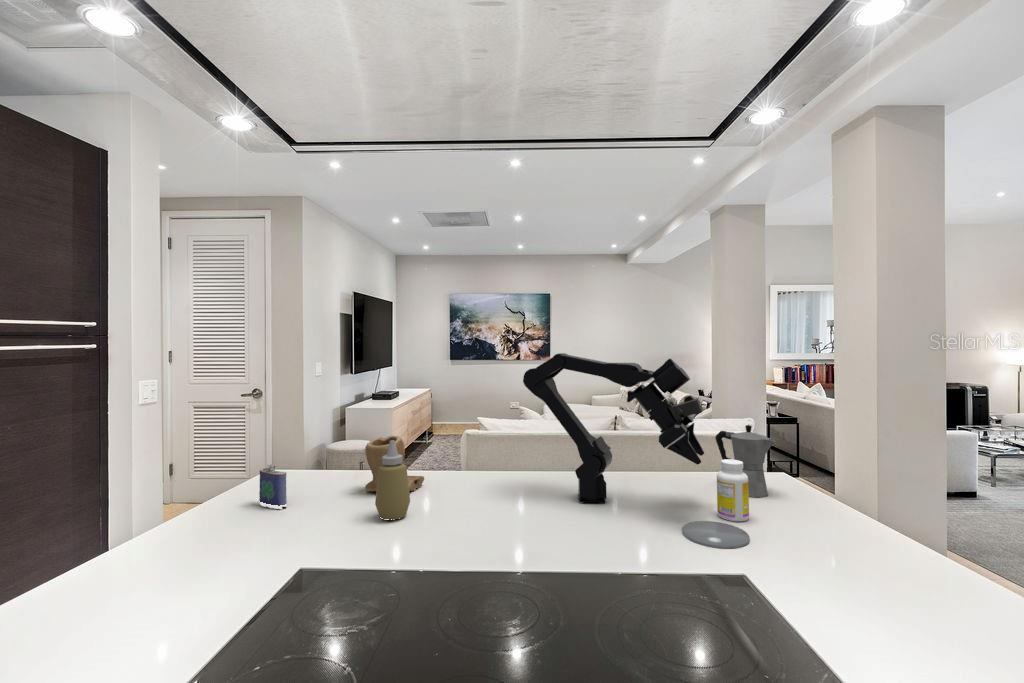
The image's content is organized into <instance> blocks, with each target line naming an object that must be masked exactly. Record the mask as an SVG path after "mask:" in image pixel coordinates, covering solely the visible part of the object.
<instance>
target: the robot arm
mask: <svg viewBox="0 0 1024 683" xmlns="http://www.w3.org/2000/svg"><path fill="white" fill-rule="evenodd" d="M564 370H569V371H573V372H578V373H582V374H587V375H591V376H596V377H601V378H604V379H607V380H609V381H610V382H612V383H615V384H617V385H620V386H622V387H624V388H632V387H635V386H637V385H639V384H640V383H642V384H640V385H639V386H638V387H636V388H635V389H634V390H628V391H627V393H626V394H627V397H626V398H627V399H626V403H630V402H632V401H634V399H635V400H636V401H637V402H638V404H639V405H640V406H641V408H643V410H645V413H647V414H648V416H649V417H648V419H649V420H650V421H653V422H654V423H655V424H656V425H657V427H658V428H659V429H660V430H659V432H660V434H659V436H658V443H659V444H660V445H661V447H662V448H663V449H667V450H669V451H672V452H673V453H675V454H677V455H678V456H681V457H683V458H684V459H687V460H688V461H690V462H692V463H694V464H696V465H699V464H701V463H702V460H701V458H700V457H699V456H703V455H705V451H704V450H703V448H702V446H701V444H700V442H699V440H698V438H697V437H696V434H695V429H694V428H695V422H694V418H693V417H692V415H699V414H701V413H703V411H704V409H703V407H702V405H701V401H700V399H699V398H698V397H695V398H694V397H693V396H692V395H687V396H685V397H684V398H683V402H680V403H677V404H675V403H674V402H673V401H671V400H668V399H667V398H666V397H665V395H664V394H666V393H669V394H674V393H675V392H676V391H677V390H679V389H680V388H681V387H683V386H684V385H686V384H687V383H688V382H689V381H691V378H690V376H689V375H688V373H687V372H686V371H685V370H684V369H683V367H681V366H679V365H678V364H677V363H676V362H675V361H674V360H673V359H672V358H668V359H666V360H665V361H664V363H663V364H662V365H661V366H660V367H658V368H657V369H656V370H655V371H652V370H649V369H645V368H643V367H642V366H641V365H640V364H639V363H635V362H607V361H601V360H596V359H591V358H586V357H582V356H581V357H580V356H575V355H570V354H567V353H562V352H560V353H556V354H554V355H553V356H552V357H551V358H549V359H547V360H545V361H544V362H543V363H542V364H541V363H540V364H539V365H538V366H536V367H533V368H529V369H527V370H526V371H525V372H524V374H523V378H522V379H523V380H522V384H524V387H526V388H527V390H528V391H530V392H531V393H532V394H533V395H534V396H535V397H537V398H538V399H540V400H541V401H543V402H544V404H545V405H546V406H547V408H548V409H549V410H550V411H551V414H553V416H554V417H555V418H556V420H558V423H560V425H561V426H562V428H563V429H564V430H565V432H566V433H567V434H568V435H569V437H570V438H571V440H572V441H573V443H575V444H574V445H576V448H577V451H578V455H579V458H580V459H581V462H582V463H581V464H580V465H579V466H578V467H577V468H576V469H575V470H574V471H575V472H574V473H575V474H576V478H577V481H578V484H577V486H578V493H577V498H578V502H579V501H580V502H598V503H597V504H606V503H605V502H607V501H606V500H607V482H606V480H605V476H604V474H603V473H604V472H605V471H606V469H607V468H608V467H609V466H610V465H611V464H612V462H613V453H612V452H611V449H612V447H610V446H609V445H608V444H607V443H606V441H605V439H604V438H603V437H602V436H601V435H600V436H598V437H597V438H596V437H594V436H593V435H592V434H591V433H590V432H589V431H588V429H587V428H586V427H585V425H584V424H583V423H582V421H581V420H580V419H579V418H578V417H577V415H576V414H575V412H574V411H573V410H572V409H571V407H570V406H569V405H568V403H567V402H566V401H565V399H564V398H563V396H561V394H560V393H559V391H558V388H557V385H556V382H555V380H554V378H555V377H557V376H558V374H560V373H561V372H562V371H564ZM652 379H653V380H652ZM650 380H652V381H651V382H650V383H648V384H647V385H645V384H643V383H644V382H648V381H650ZM689 424H690V425H689ZM580 502H579V503H580Z"/></svg>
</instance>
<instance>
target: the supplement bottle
mask: <svg viewBox="0 0 1024 683" xmlns="http://www.w3.org/2000/svg"><path fill="white" fill-rule="evenodd" d="M720 467H721V470H720V471H719V470H718V472H717V474H716V502H717V505H716V506H717V507H716V508H717V515H718V517H720V518H721V519H723V520H726V521H731V522H745V521H748V519H749V518H750V501H749V500H750V499H749V498H750V497H749V490H748V476H747V475H746V474H745V473H743V472H742V469H743V462H742V461H739V460H735V459H734V458H733V459H732V458H731V459H724V460H723V459H721V460H720Z"/></svg>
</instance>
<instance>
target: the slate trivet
mask: <svg viewBox="0 0 1024 683" xmlns="http://www.w3.org/2000/svg"><path fill="white" fill-rule="evenodd" d="M681 534H682V535H683V536H684V537H685V538H686V539H688V540H689V541H691V542H693V543H695V544H697V545H701V546H705V547H710V548H714V549H715V548H716V549H725V550H727V549H729V550H730V549H739V548H740V549H741V548H743V547H746V546H748V544H750V539H751V538H750V535H749V533H748V532H746V530H743V529H742V528H740V527H738V526H735V525H733V524H728V523H726V522H725V523H724V522H719V521H713V520H696V521H689V522H687V523H685V524H683V525H682V527H681Z"/></svg>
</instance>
